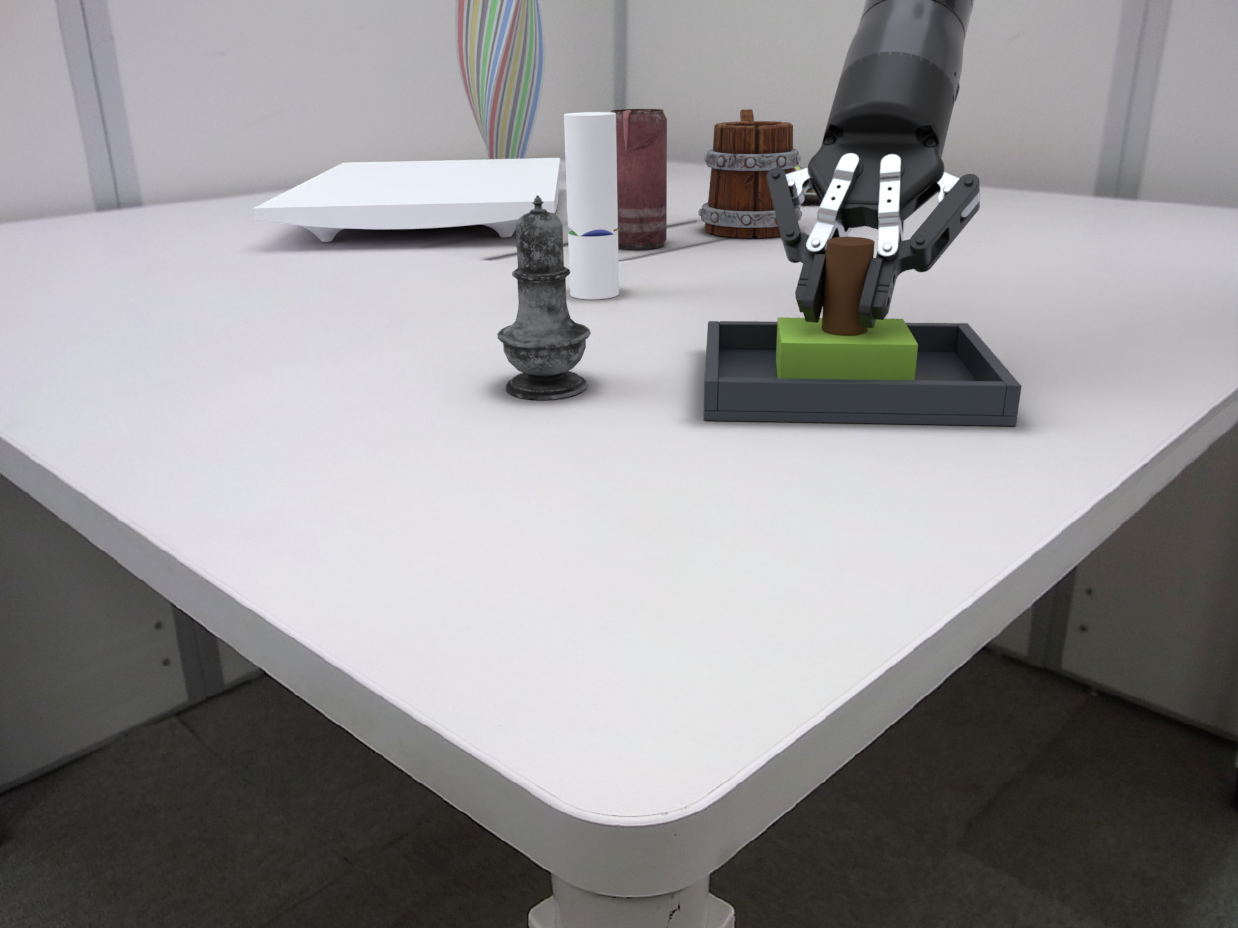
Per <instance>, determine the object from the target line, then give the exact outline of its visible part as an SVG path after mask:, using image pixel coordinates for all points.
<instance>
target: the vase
mask: <svg viewBox="0 0 1238 928" xmlns="http://www.w3.org/2000/svg"><path fill="white" fill-rule="evenodd" d="M454 4H455V6H454V37H455V39H454V40H455V51H456V59H457V64H458V69H459V74H460V80H461V82H462V87H463V89H464V93H465V95H466V99H467V102H468V104H469V109H470V111H471V113H472V115H473V118H474V121H475V123H476V126H477V129H478V131H479V134H480V136H481V139H482V141H483V143H484V146H485V148H486V153H487V159H527V158H526V157H527V154H528V152H529V151H528V150H529V147H530V144H531V140H532V136H533V132H534V129H535V125H536V122H537V121H536V120H537V117H538V112H539V109H540V103H541V98H542V92H543V87H544V80H545V70H546V69H545V68H546V42H545V31H544V23H543V16H542V15H543V14H542V10H541V3H540V0H455V3H454Z"/></svg>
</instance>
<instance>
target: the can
mask: <svg viewBox="0 0 1238 928" xmlns="http://www.w3.org/2000/svg"><path fill="white" fill-rule="evenodd" d="M610 112H611V113H616V151H617V208H618V228H617V229H618V249H621V250H629V251H631V250H633V251H639V250H640V251H642V250H654V249H659V248H663V246H664V245H665V244H666V241H667V238H668V237H667V233H668V232H667V230H668V229H667V227H668V226H667V225H668V224H667V223H668V218H667V217H668V213H667V212H668V209H667V207H668V202H667V201H668V200H667V199H668V197H667V196H668V195H667V194H668V192H667V191H668V190H667V189H668V183H667V182H668V179H667V178H668V118H667V116H666V114H665V112H664V109H661V108H622V109H621V108H620V109H613V110H611V111H610Z"/></svg>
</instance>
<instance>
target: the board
mask: <svg viewBox="0 0 1238 928" xmlns="http://www.w3.org/2000/svg"><path fill="white" fill-rule="evenodd" d="M561 166H562V164H561V157H536V158H533V157H532V158H530V157H529V158H525V159H488V158H487V159H484V158H483V159H448V160H446V159H445V160H443V159H441V160H407V161H406V160H402V161H401V160H398V161H356V162H355V161H354V162H353V161H352V162H341V163H339V164H337V165H335V166H334V167H331V168H329V169H328V170H325V171H323V172H321V173H320V174H318V175H316V176H313V177H312V178H309V179H308V180H306V181H303V182H302V183H300V184H298V185H296V186H294V187H292V188H290V189H288V190H286V191H284V192H282V193H280V194H278V195H276V196H274V197H272V198H270V199H268V200H266V201H264V202H262V203H261V204H259V205H256V206H255V207H252V212H253V218H254V221H256V222H257V221H259V222H266V223H274V224H282V225H291V226H298V227H301V228H304V229H306V230H308V231H309V232H311V233H312V234H314V235H315V236H316V237H317V238H318V239H319V241H320V242H321V243H329V242H333V241H334V238H335V237H336V236H337V235H338V233H340V232H341V231H342V230H345V229H349V230H350V229H352V230H354V229H355V230H416V229H417V230H419V229H421V230H422V229H438V228H453V227H464V226H476V225H482V226H485V227H489V228H490V229H493V230H494V231H495V232H496V233H497V234H498V235H499V237H500V238H511V237H512V236H513V234H514V233H515V232H516V223H517V221H518V219H519V218H520V217H522V216H523V215H524V214H526V213H529V212H530V211H531V210H532V209H534V204H533V203H532V202H534V199H535V198H536V196H537V195H538V196H539V198H541V199H542V201H543V202H544V203H543V204H542V209H546V211H547V212H550V213H553V214H555V213H556V211H557V208H558V203H559V197H560V187H561V185H560V184H561V169H562V168H561Z"/></svg>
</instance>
